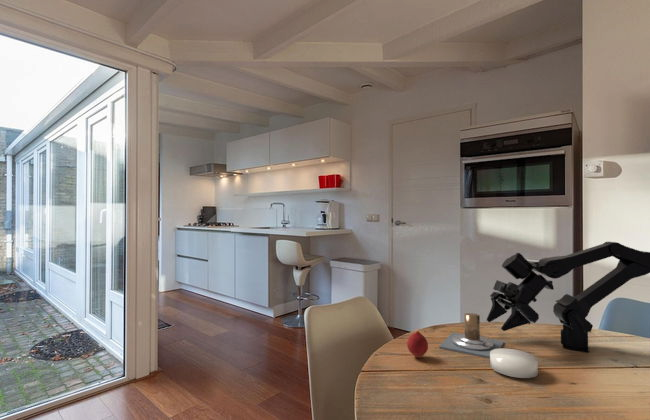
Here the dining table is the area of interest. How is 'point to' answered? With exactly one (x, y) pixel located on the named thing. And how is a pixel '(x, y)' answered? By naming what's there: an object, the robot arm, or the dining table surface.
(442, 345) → the mat
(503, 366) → the white rounded piece
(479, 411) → the dining table surface
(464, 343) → the cylinder on round base
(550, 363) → the dining table surface
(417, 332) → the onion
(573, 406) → the dining table surface
